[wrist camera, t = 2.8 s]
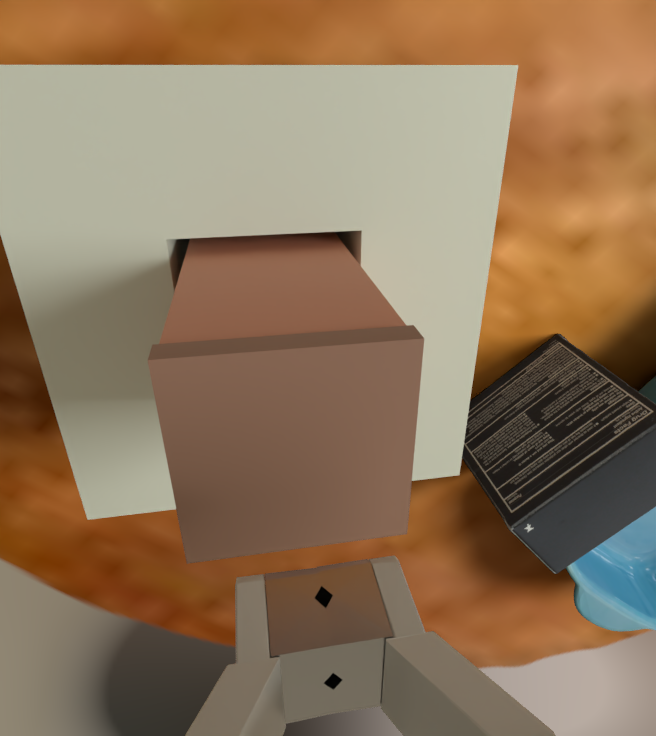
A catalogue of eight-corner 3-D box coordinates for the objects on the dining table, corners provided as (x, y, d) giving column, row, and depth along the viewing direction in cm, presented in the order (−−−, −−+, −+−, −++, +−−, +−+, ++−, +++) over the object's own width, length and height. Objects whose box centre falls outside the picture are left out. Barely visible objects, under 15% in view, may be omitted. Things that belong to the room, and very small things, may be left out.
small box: (482, 471, 40) (556, 582, 31) (436, 423, 37) (503, 530, 28) (596, 386, 38) (712, 478, 29) (558, 329, 35) (673, 411, 26)
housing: (40, 67, 24) (-72, 49, 15) (431, 67, 26) (530, 51, 17) (121, 411, 32) (80, 527, 24) (407, 385, 35) (465, 480, 26)
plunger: (188, 233, 21) (147, 360, 11) (334, 227, 22) (424, 338, 12) (206, 365, 24) (187, 563, 14) (334, 355, 25) (406, 533, 15)
